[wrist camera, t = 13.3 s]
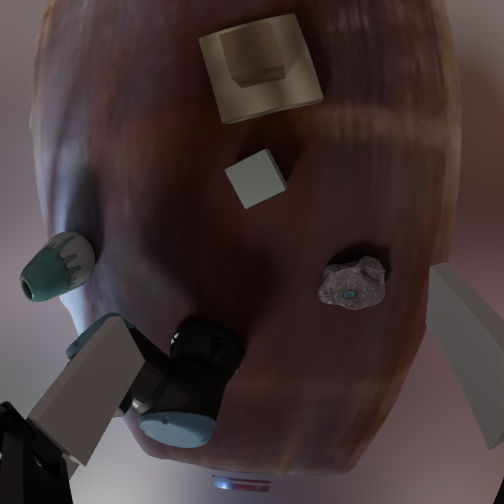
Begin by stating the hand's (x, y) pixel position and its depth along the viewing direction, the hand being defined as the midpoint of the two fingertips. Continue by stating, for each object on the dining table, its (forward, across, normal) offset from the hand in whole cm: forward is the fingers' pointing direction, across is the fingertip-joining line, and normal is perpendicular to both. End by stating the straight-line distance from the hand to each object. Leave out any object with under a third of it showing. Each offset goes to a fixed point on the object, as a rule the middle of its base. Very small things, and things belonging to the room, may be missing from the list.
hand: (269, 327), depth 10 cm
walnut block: (+29, +1, +19) cm, 35 cm away
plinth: (+34, +1, +19) cm, 39 cm away
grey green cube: (+34, -3, +3) cm, 34 cm away
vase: (+35, -43, -2) cm, 55 cm away
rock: (+34, +8, -17) cm, 39 cm away
